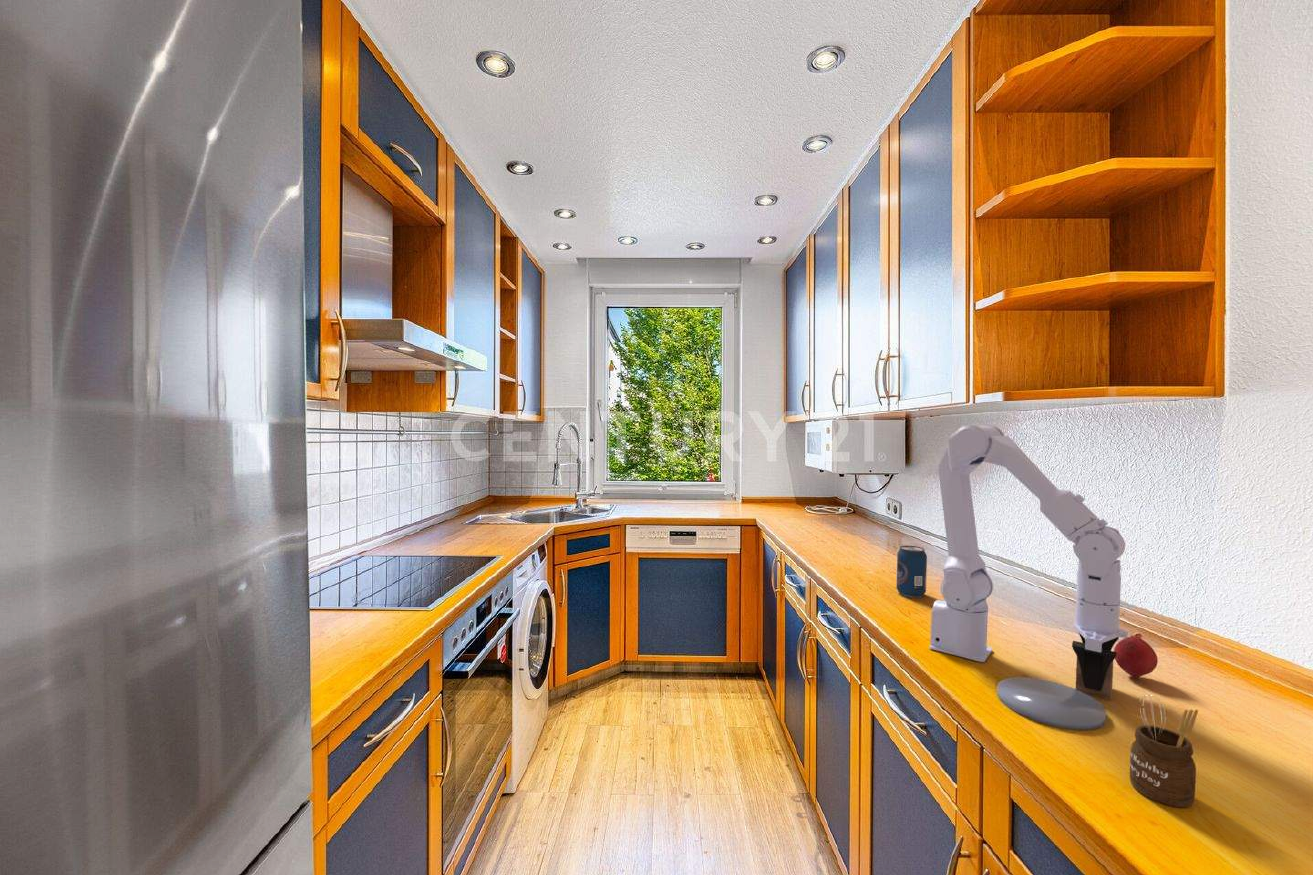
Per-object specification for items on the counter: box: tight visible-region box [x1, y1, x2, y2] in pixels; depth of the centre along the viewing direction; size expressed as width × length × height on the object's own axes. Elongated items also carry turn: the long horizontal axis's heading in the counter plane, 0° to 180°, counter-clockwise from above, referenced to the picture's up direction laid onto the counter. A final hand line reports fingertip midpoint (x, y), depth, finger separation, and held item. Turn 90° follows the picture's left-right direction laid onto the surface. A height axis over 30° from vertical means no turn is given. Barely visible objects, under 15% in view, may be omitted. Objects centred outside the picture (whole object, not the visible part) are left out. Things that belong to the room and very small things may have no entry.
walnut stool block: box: [1075, 657, 1114, 701], centre depth 93 cm, size 5×5×6 cm
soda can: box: [896, 545, 928, 599], centre depth 144 cm, size 7×7×12 cm
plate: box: [996, 676, 1107, 731], centre depth 89 cm, size 14×14×1 cm
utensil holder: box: [1129, 694, 1199, 808], centre depth 68 cm, size 6×6×12 cm
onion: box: [1113, 632, 1159, 679], centre depth 98 cm, size 6×6×8 cm
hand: (1094, 680), depth 93 cm, fingers open, 7 cm apart
